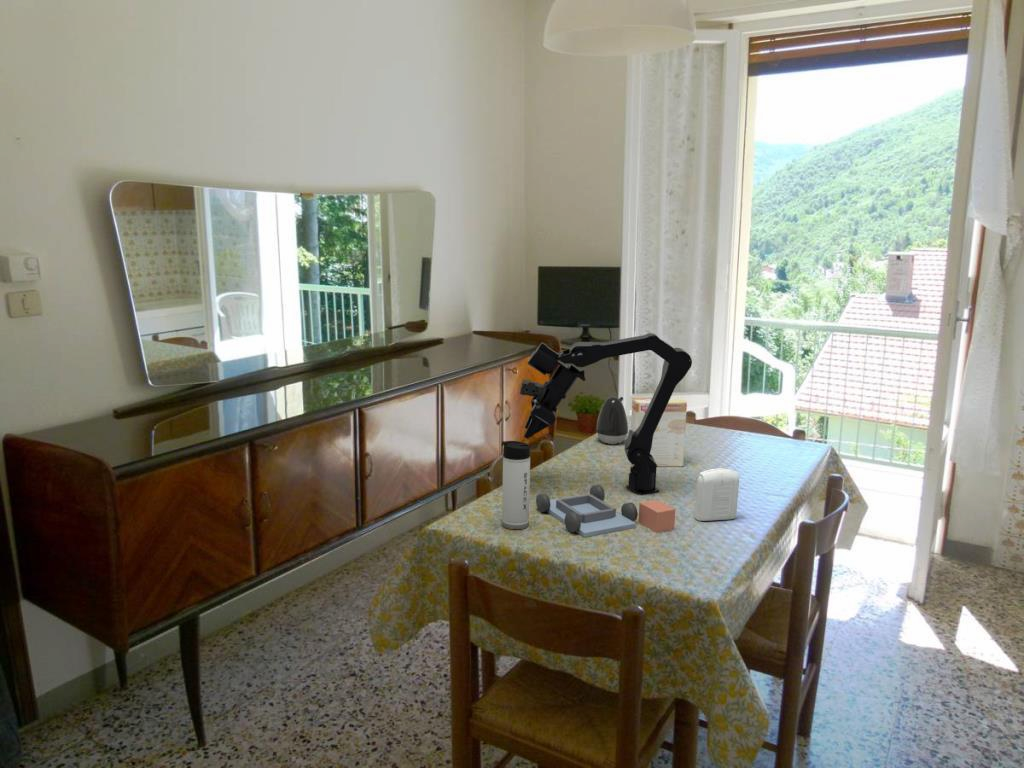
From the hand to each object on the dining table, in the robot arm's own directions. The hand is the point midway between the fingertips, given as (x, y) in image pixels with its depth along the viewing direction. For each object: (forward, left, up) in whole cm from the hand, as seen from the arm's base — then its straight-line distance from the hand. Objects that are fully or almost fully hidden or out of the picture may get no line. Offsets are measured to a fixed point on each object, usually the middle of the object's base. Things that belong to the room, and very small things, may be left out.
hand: (525, 433), depth 200 cm
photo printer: (-32, +39, -15) cm, 52 cm away
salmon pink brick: (-16, +37, -15) cm, 43 cm away
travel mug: (+14, +23, -15) cm, 31 cm away
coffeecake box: (-46, -3, -15) cm, 48 cm away
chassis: (-4, +25, -15) cm, 29 cm away
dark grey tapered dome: (-46, -28, -15) cm, 56 cm away
